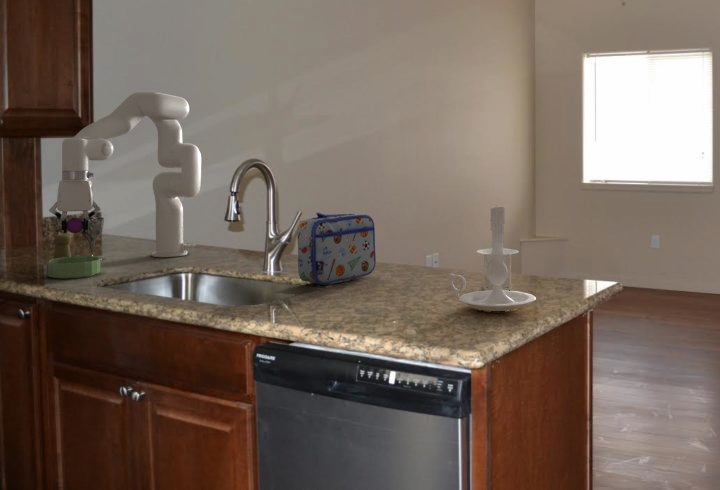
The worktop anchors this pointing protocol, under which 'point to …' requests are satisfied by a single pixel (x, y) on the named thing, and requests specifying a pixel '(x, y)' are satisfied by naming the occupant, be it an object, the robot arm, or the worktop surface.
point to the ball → (74, 225)
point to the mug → (486, 265)
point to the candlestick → (495, 275)
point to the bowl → (73, 267)
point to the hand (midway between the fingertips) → (75, 231)
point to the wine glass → (93, 231)
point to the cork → (62, 246)
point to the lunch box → (336, 248)
